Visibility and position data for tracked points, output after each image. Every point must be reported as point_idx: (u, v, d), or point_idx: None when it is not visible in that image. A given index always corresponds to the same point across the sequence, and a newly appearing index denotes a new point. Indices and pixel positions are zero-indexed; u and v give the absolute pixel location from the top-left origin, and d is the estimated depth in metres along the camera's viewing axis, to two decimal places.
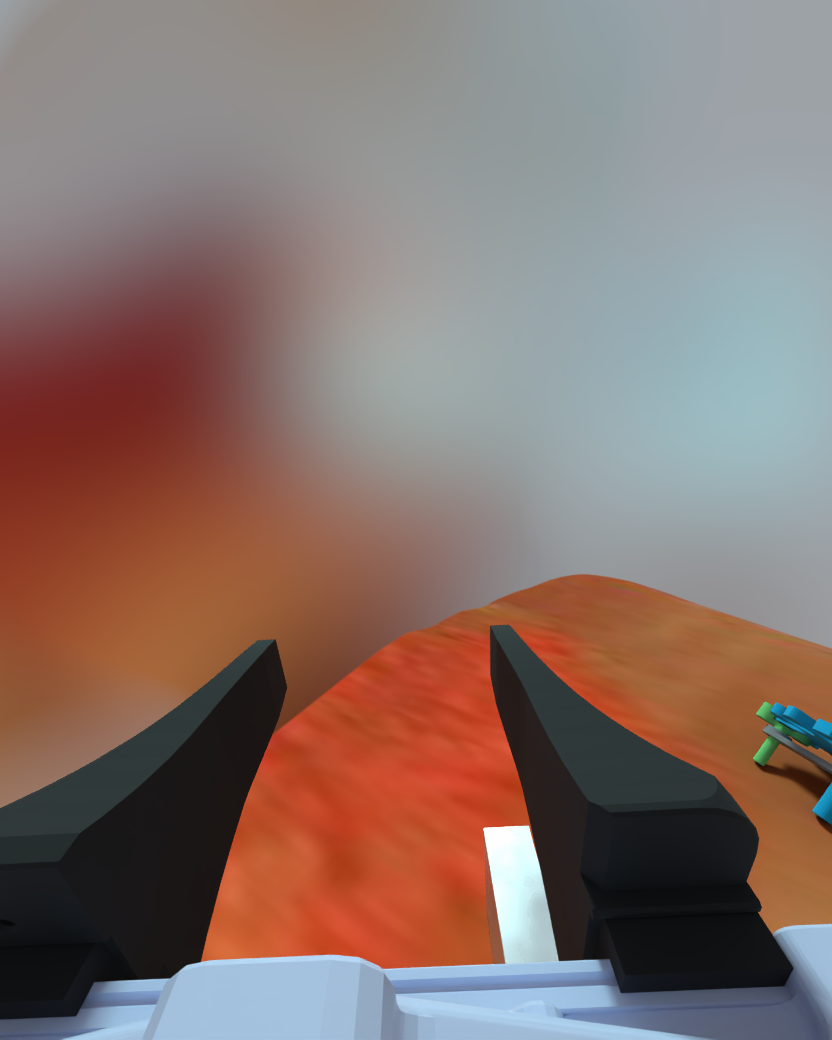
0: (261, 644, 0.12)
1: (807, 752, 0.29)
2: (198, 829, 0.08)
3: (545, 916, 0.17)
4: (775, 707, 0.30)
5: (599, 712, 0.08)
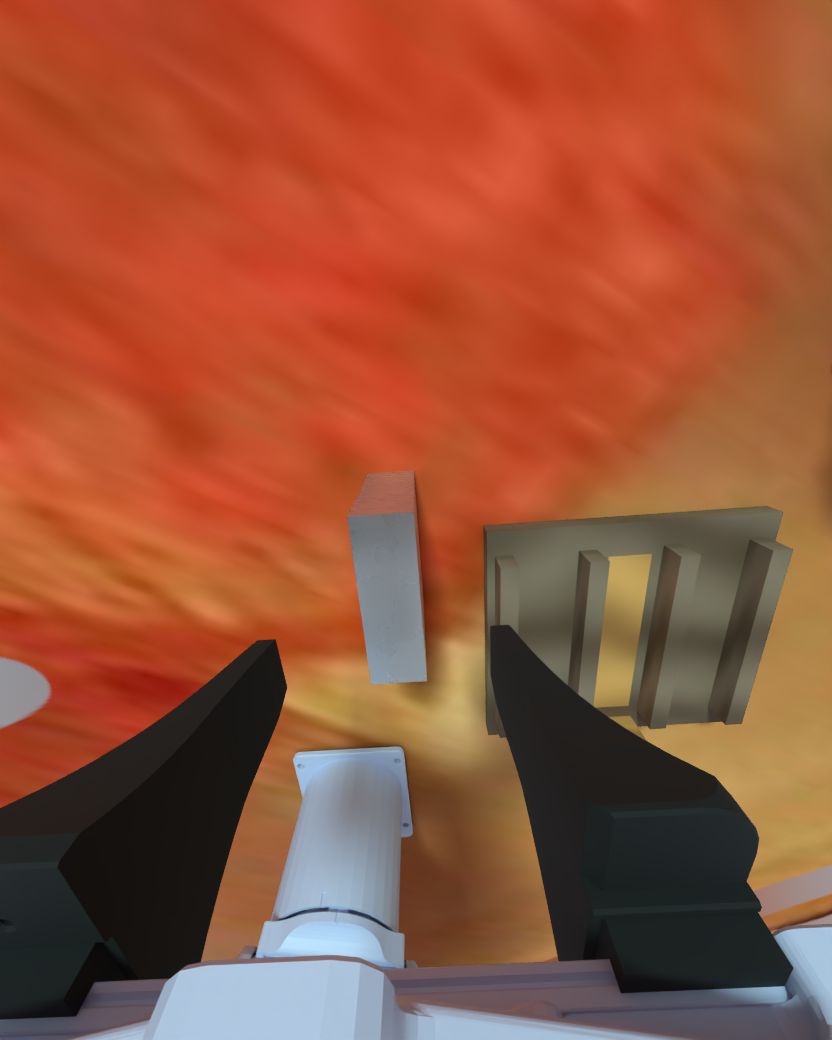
0: (261, 644, 0.12)
1: None
2: (198, 829, 0.08)
3: (412, 604, 0.16)
4: None
5: (599, 712, 0.08)
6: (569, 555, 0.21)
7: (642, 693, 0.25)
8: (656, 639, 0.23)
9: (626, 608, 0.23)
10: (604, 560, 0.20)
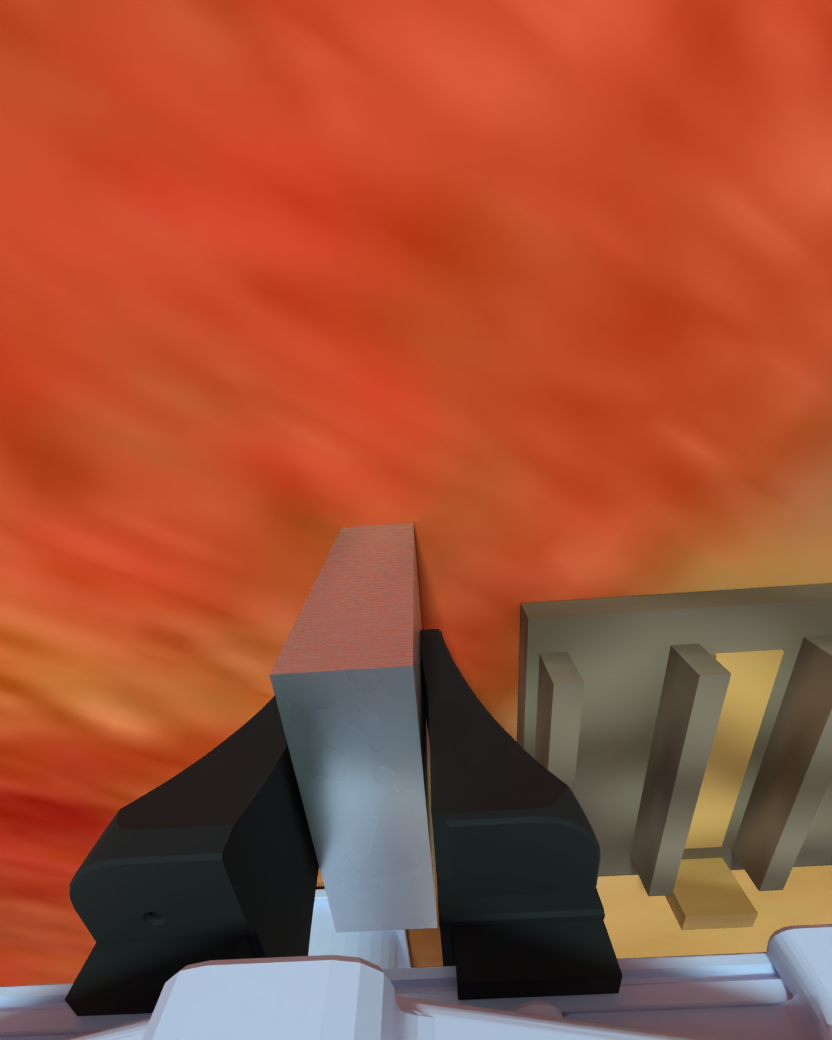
0: None
1: None
2: (302, 823, 0.08)
3: (410, 820, 0.08)
4: None
5: (490, 718, 0.08)
6: (655, 651, 0.14)
7: (745, 834, 0.17)
8: (779, 771, 0.15)
9: (734, 724, 0.15)
10: (720, 670, 0.12)
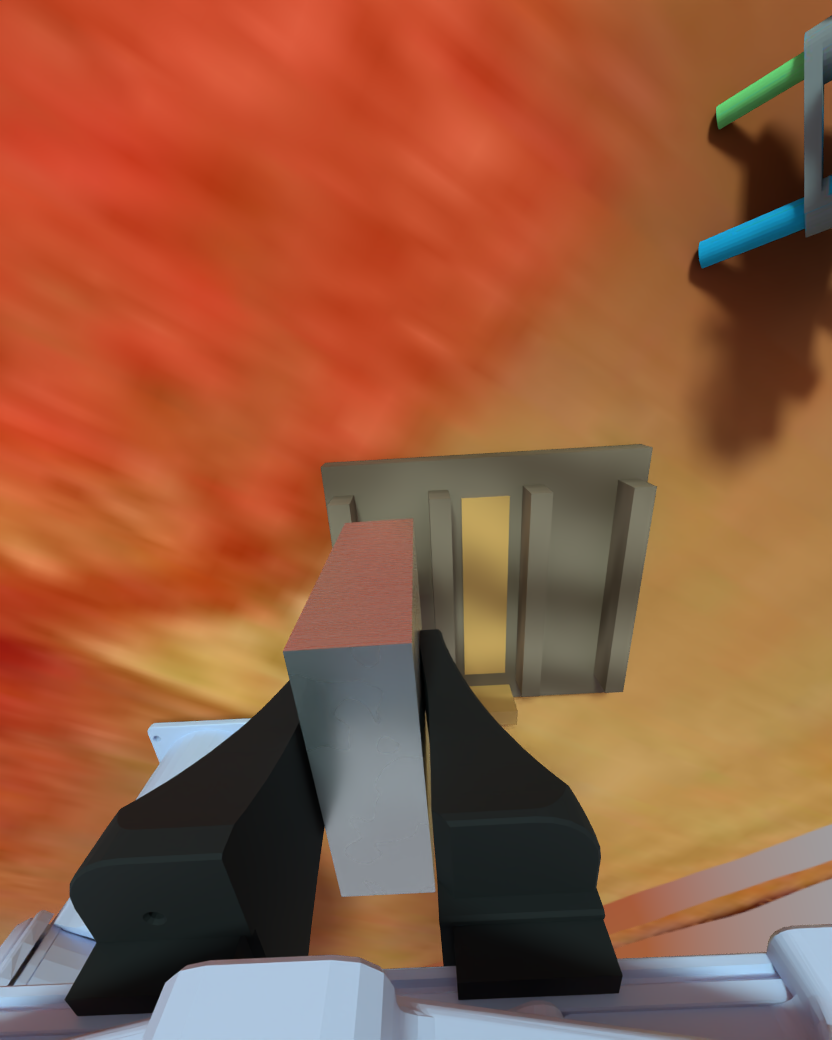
0: None
1: (816, 133, 0.13)
2: (302, 823, 0.08)
3: (410, 788, 0.09)
4: None
5: (490, 718, 0.08)
6: (417, 496, 0.19)
7: (517, 658, 0.22)
8: (522, 594, 0.20)
9: (489, 559, 0.20)
10: (445, 497, 0.18)
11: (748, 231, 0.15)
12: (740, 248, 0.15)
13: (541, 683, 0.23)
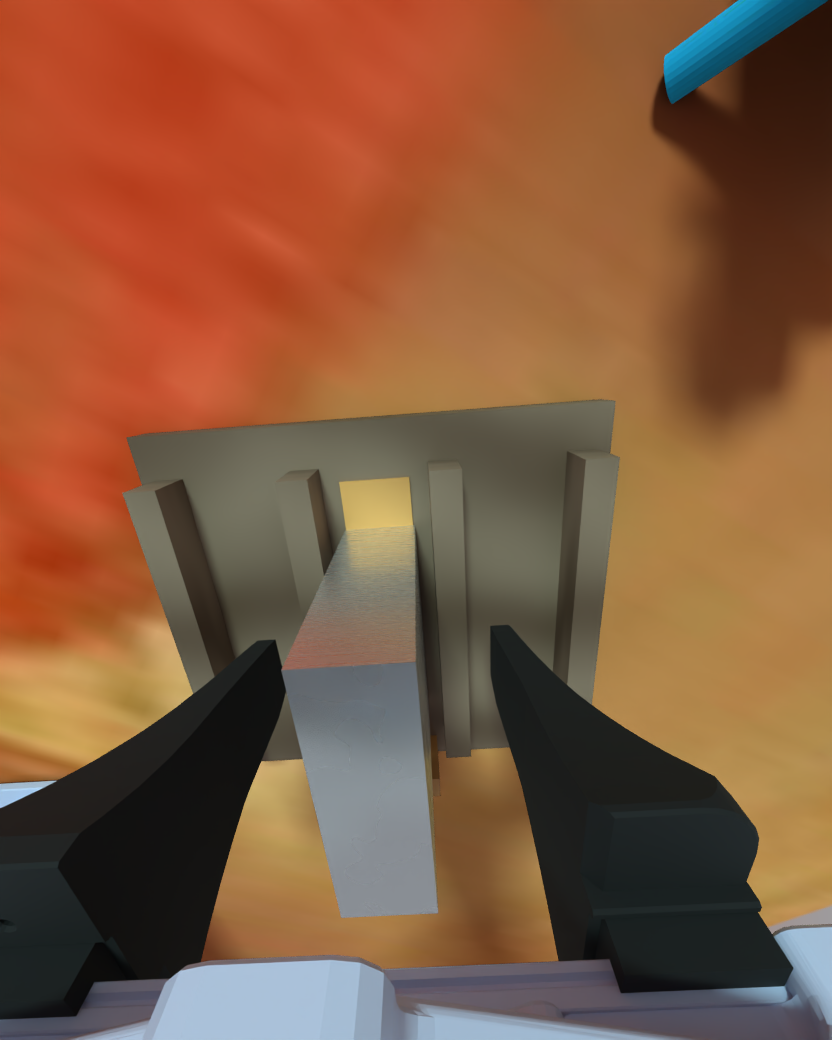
0: (261, 644, 0.12)
1: None
2: (198, 829, 0.08)
3: (413, 809, 0.08)
4: None
5: (599, 712, 0.08)
6: (276, 479, 0.13)
7: (442, 702, 0.16)
8: (437, 618, 0.14)
9: None
10: (301, 478, 0.12)
11: (744, 9, 0.09)
12: (730, 47, 0.09)
13: (480, 733, 0.17)
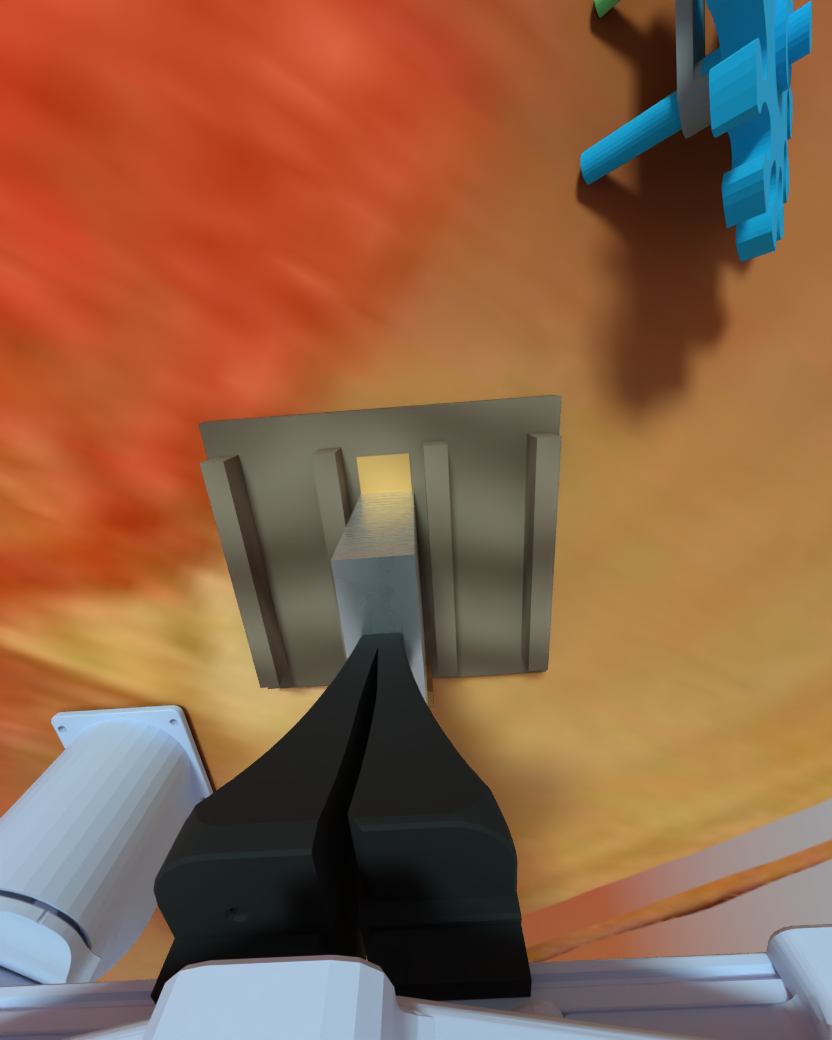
0: (371, 637, 0.12)
1: (686, 3, 0.11)
2: None
3: (412, 663, 0.13)
4: None
5: (431, 722, 0.08)
6: (308, 455, 0.17)
7: (435, 635, 0.20)
8: None
9: None
10: (330, 452, 0.16)
11: (626, 132, 0.13)
12: (620, 154, 0.13)
13: (465, 663, 0.21)
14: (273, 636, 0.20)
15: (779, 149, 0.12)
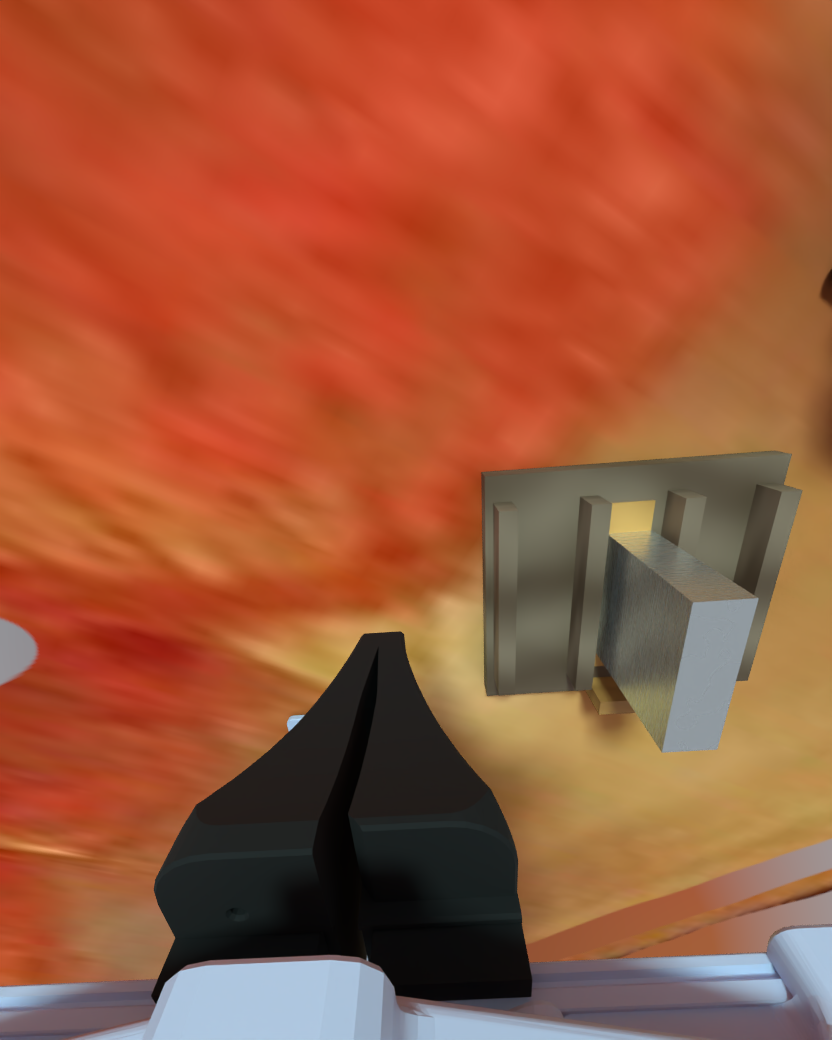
0: (372, 637, 0.12)
1: None
2: None
3: (727, 680, 0.16)
4: None
5: (432, 722, 0.08)
6: (570, 501, 0.21)
7: None
8: None
9: None
10: (606, 503, 0.19)
11: None
12: None
13: None
14: None
15: None
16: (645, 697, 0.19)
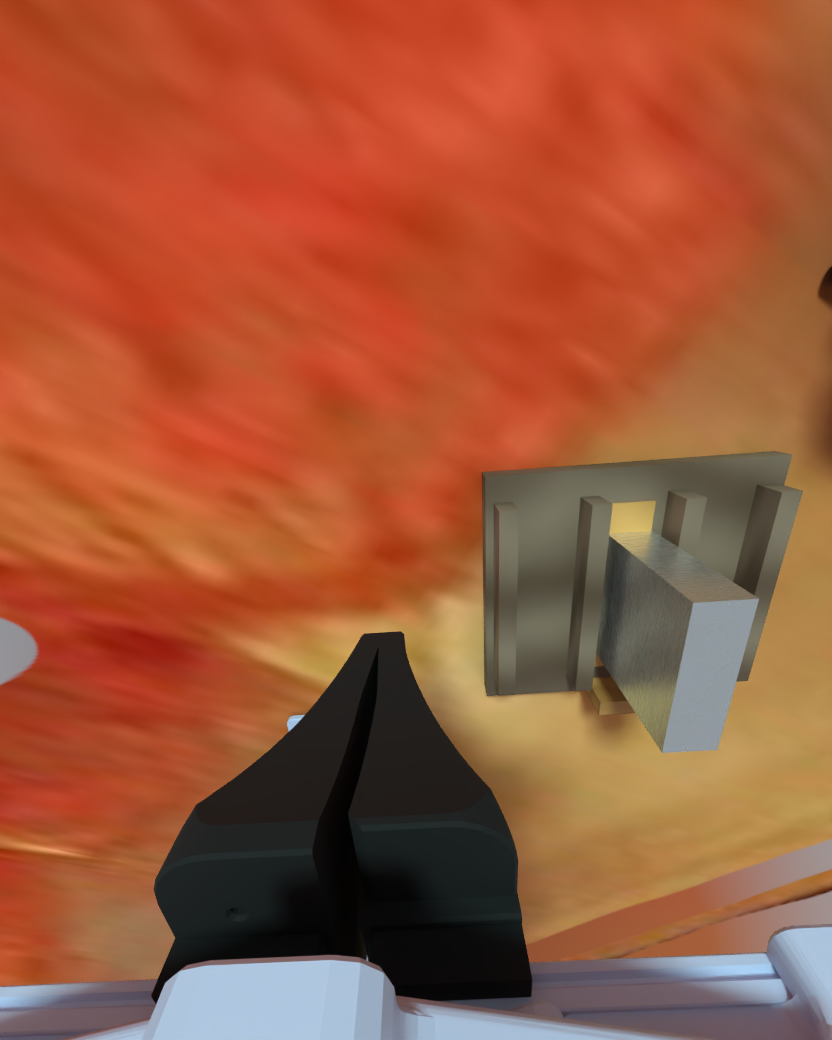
0: (372, 637, 0.12)
1: None
2: None
3: (728, 681, 0.16)
4: None
5: (432, 722, 0.08)
6: (570, 502, 0.21)
7: None
8: None
9: None
10: (606, 503, 0.19)
11: None
12: None
13: None
14: None
15: None
16: (645, 697, 0.19)
